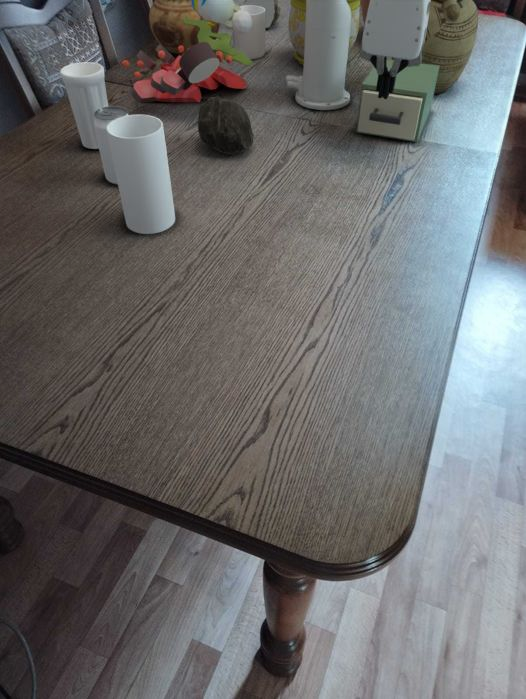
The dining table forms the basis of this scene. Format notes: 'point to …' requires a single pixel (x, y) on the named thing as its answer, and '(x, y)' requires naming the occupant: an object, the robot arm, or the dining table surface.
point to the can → (100, 124)
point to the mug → (252, 34)
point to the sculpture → (267, 10)
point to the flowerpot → (299, 25)
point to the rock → (225, 126)
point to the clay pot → (175, 24)
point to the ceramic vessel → (449, 39)
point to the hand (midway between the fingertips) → (384, 95)
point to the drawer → (389, 114)
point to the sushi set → (196, 58)
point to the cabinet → (408, 89)
